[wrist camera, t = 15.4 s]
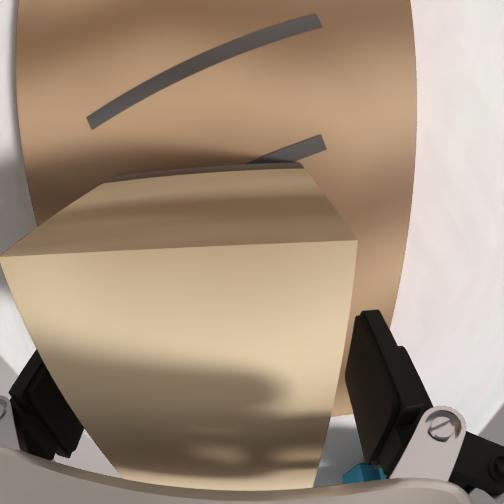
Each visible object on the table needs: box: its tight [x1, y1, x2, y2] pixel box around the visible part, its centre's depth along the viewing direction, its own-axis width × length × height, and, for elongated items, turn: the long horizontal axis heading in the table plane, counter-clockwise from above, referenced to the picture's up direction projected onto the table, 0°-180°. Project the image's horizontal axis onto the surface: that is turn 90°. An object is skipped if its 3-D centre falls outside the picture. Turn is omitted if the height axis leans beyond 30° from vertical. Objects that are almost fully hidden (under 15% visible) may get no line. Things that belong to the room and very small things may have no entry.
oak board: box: [16, 0, 417, 417], centre depth 11 cm, size 24×14×2 cm, turn 3°
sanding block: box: [0, 162, 358, 491], centre depth 9 cm, size 11×6×6 cm, turn 3°
